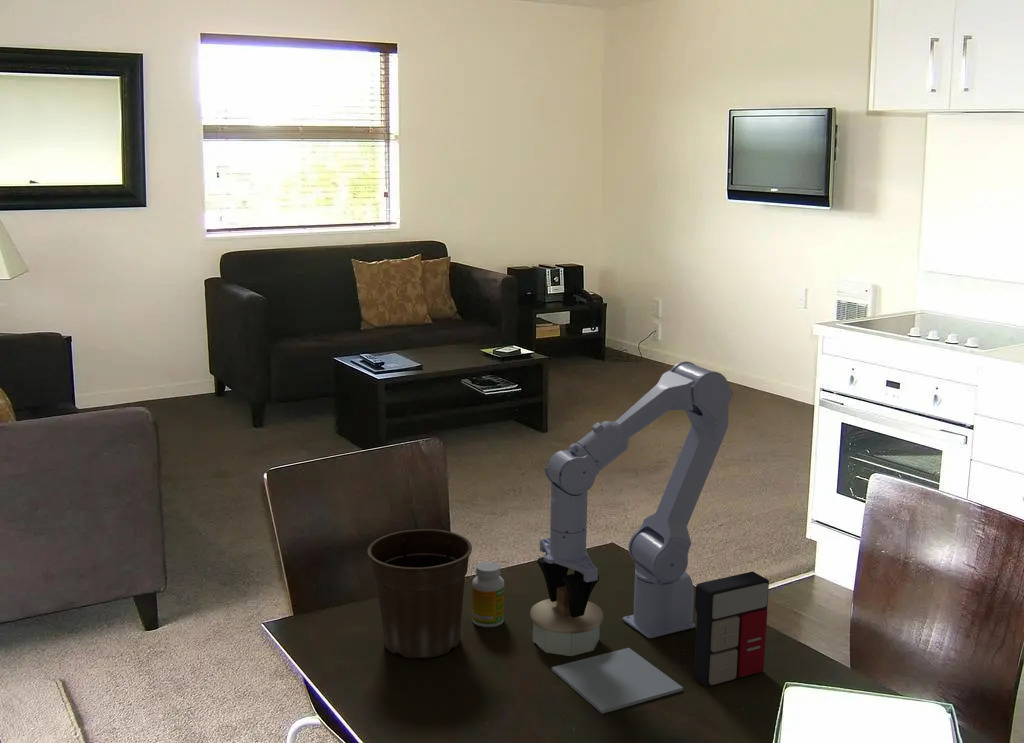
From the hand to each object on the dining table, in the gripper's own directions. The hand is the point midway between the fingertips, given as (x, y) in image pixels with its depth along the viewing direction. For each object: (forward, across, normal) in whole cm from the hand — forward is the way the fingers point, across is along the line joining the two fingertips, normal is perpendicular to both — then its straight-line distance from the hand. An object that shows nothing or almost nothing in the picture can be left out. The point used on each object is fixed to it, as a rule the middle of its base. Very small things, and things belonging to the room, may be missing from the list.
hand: (566, 607), depth 166 cm
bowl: (+6, 0, 0) cm, 6 cm away
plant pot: (+6, -10, -21) cm, 24 cm away
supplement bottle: (+6, -12, -8) cm, 16 cm away
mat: (+6, +14, 0) cm, 16 cm away
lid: (+2, 0, 0) cm, 2 cm away
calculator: (+6, +21, +16) cm, 27 cm away
